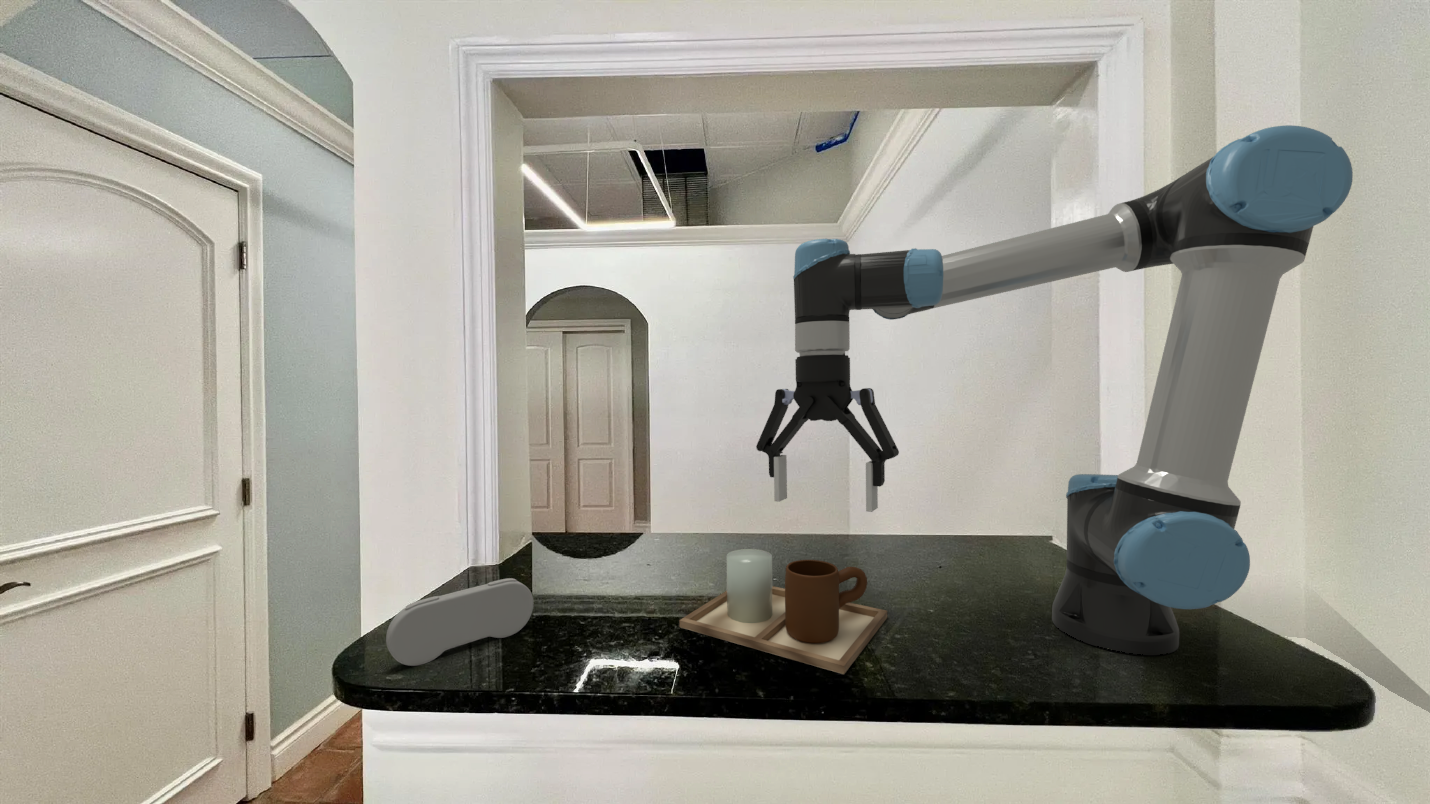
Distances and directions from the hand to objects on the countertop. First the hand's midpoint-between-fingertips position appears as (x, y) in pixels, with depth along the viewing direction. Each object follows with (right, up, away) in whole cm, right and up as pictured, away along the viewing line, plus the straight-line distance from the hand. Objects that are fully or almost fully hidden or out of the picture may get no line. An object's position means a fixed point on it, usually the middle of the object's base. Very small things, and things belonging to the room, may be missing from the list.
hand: (824, 504), depth 79 cm
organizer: (-5, -19, +4) cm, 21 cm away
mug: (+1, -19, +1) cm, 19 cm away
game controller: (-51, -21, 0) cm, 55 cm away
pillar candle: (-10, -18, +7) cm, 22 cm away
